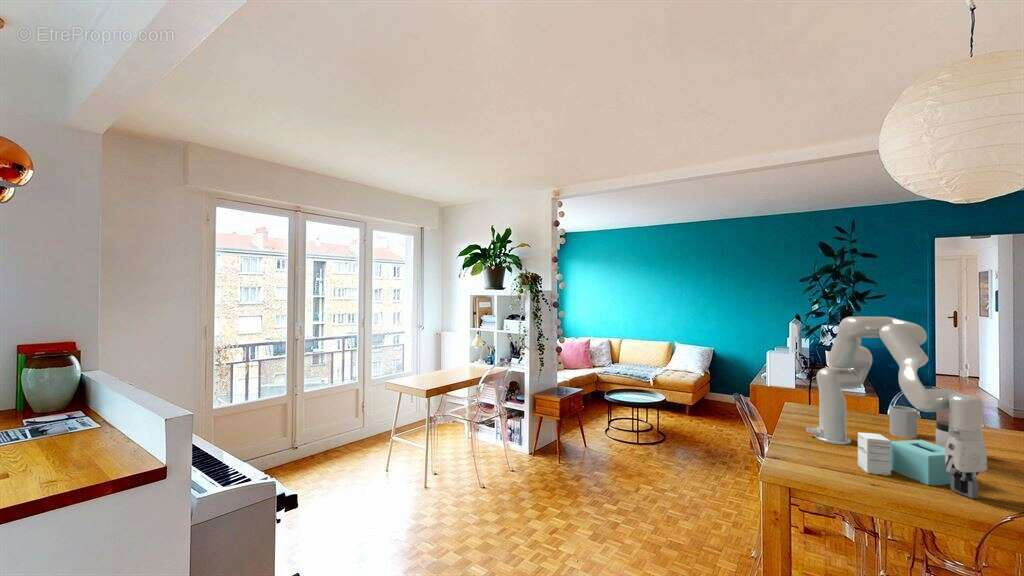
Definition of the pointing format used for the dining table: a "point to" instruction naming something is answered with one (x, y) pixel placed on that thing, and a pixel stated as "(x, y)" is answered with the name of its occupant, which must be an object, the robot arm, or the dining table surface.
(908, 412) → the cup
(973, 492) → the grey metal block
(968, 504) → the dining table surface
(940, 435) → the jar
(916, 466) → the coin box
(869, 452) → the supplement box
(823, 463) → the dining table surface
